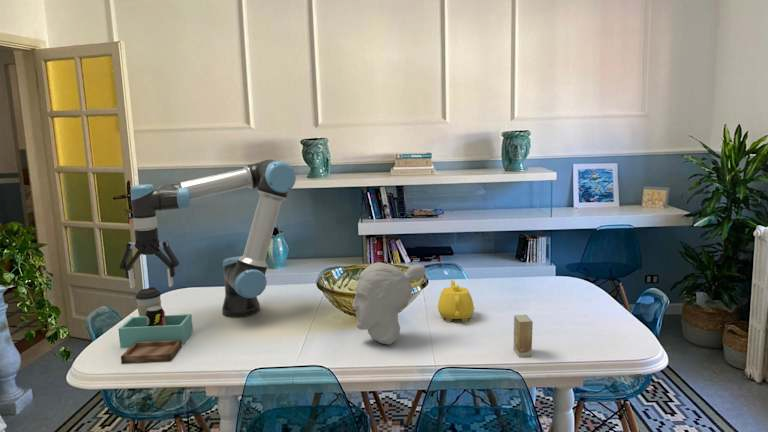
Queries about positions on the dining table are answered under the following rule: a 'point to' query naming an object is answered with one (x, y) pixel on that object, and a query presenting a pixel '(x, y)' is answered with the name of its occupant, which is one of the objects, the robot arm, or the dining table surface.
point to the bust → (383, 299)
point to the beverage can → (155, 316)
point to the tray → (151, 351)
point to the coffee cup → (147, 299)
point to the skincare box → (523, 335)
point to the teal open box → (155, 330)
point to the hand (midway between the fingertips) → (151, 286)
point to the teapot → (455, 303)
